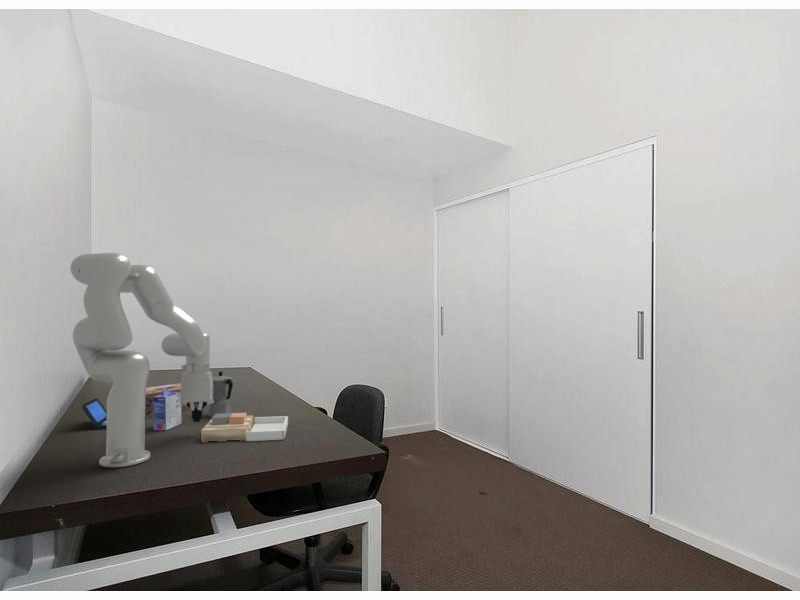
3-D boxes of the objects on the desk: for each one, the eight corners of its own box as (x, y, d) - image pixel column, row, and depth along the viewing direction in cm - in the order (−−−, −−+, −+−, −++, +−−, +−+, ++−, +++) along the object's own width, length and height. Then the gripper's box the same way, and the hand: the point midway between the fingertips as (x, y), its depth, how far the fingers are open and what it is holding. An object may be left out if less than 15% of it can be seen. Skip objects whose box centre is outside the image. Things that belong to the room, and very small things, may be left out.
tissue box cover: (185, 404, 206) (185, 382, 206) (203, 408, 198) (203, 385, 198) (125, 414, 185) (125, 390, 185) (142, 420, 177) (142, 394, 177)
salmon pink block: (243, 423, 156) (244, 416, 156) (228, 424, 155) (228, 417, 155) (246, 419, 161) (246, 412, 162) (232, 420, 161) (232, 413, 161)
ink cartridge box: (168, 423, 171) (169, 385, 171) (182, 423, 170) (182, 385, 171) (151, 430, 161) (152, 390, 161) (166, 430, 161) (166, 390, 161)
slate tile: (227, 424, 155) (227, 417, 155) (211, 425, 154) (212, 417, 154) (230, 420, 160) (230, 413, 160) (215, 420, 160) (215, 413, 160)
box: (284, 439, 151) (284, 430, 151) (246, 441, 149) (246, 432, 149) (287, 423, 171) (287, 416, 171) (254, 425, 169) (254, 417, 169)
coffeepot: (200, 414, 185) (201, 371, 185) (222, 410, 192) (222, 368, 192) (220, 421, 175) (220, 374, 175) (242, 416, 182) (242, 372, 183)
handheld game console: (122, 428, 164) (122, 403, 164) (80, 431, 160) (80, 405, 160) (134, 418, 179) (134, 395, 179) (95, 421, 175) (96, 397, 175)
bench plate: (245, 440, 150) (245, 428, 150) (201, 442, 147) (201, 430, 147) (253, 426, 168) (253, 415, 168) (213, 427, 165) (213, 416, 165)
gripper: (171, 370, 151) (170, 425, 151) (218, 369, 154) (217, 423, 153) (177, 367, 158) (177, 419, 158) (222, 366, 161) (221, 417, 161)
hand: (197, 421), depth 156 cm, fingers closed
